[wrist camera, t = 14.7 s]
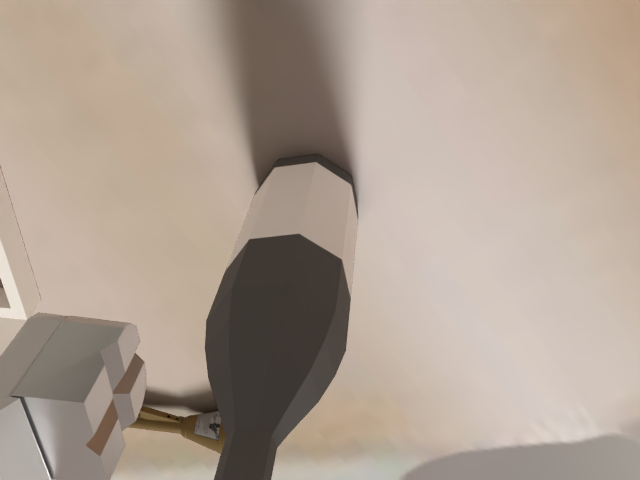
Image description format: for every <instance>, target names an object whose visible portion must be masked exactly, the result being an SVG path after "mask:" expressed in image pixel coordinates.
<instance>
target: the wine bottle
mask: <svg viewBox="0 0 640 480" xmlns="http://www.w3.org/2000/svg"><path fill="white" fill-rule="evenodd" d="M357 226H358V209H357V203H356V198H355V193H354V188H353V182H352V177H351V175H350V174H348V173H347V172H345V171H344V170H342V169H341V168H339V167H338V166H336V165H334V164H333V163H331V162H330V161H328V160H327V159H325V158H324V157H322V156H321V155H319V154H313V155H306V156H298V157H291V158H283V159H279V160H278V161H277V163H276V164H275V165H274V167H273V168H272V170H271V171H270V172H269V174H268V175H267V177H266V178H265V179H264V181H263V182H262V184H261V185H260V186H259V188H258V189H257V191H256V192H255V195H254V197H253V200H252V202H251V205H250V208H249V210H248V213H247V216H246V218H245V221H244V223H243V226H242V229H241V231H240V234H239V237H238V239H237V242H236V244H235V247H234V250H233V252H232V255H231V257H230V260H229V263H228V265H227V268H226V271H225V273H224V276H223V278H222V281H221V284H220V286H219V289H218V292H217V294H216V297H215V299H214V302H213V305H212V307H211V310H210V313H209V315H208V318H207V321H206V339H205V352H206V361H207V370H208V378H209V381H210V385H211V388H212V391H213V394H214V397H215V401H216V404H217V407H218V410H219V414H220V417H221V421H222V425H223V428H224V432H225V436H226V438H225V442H224V445H223V449H222V453H221V456H220V460H219V463H218V467H217V471H216V474H215V478H214V480H271V476H272V471H273V466H274V461H275V455H276V450H277V447H278V446H279V445H280V444H281V443H282V441H283V440H284V439H285V438H286V437H287V435H288V434H289V433H290V432H291V431H292V430H293V429H294V428H295V427H296V425H297V424H298V423H299V422H300V421H301V420H302V419H303V418H304V417H305V416H306V415H307V414H308V413H309V411H310V410H311V409H312V408H313V407H314V406H315V405H316V404H317V403H318V402H319V400H320V399H321V397H322V396H323V394H324V392H325V391H326V389H327V388H328V386H329V384H330V383H331V381H332V380H333V378H334V377H335V375H336V372H337V370H338V368H339V365H340V363H341V360H342V358H343V356H344V353H345V351H346V342H347V332H348V321H349V311H350V300H351V290H352V279H353V269H354V258H355V247H356V237H357Z"/></svg>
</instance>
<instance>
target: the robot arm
mask: <svg viewBox="0 0 640 480" xmlns="http://www.w3.org/2000/svg"><path fill="white" fill-rule="evenodd" d="M139 343H140V338H139V334H138V330H137V326H136V325H134V324H132V323H126V322H118V321H109V320H101V319H93V318H85V317H77V316H63V315H56V314H48V313H40V312H39V313H37V314H35V315H33V316H32V317H30V318H29V319H28V320H27V321H26V323H25V324H24V325H23V327H22V328H21V329H20V331H19V332H18V333H17V335H16V336H15V337H14V339H13V340H12V341H11V343H10V344H9V345H8V347H7V348H6V349H5V351H4V352H3V353H2V355H1V356H0V480H51V479H53V480H110V479H111V476H112V474H113V472H114V470H115V467H116V465H117V463H118V461H119V458H120V456H121V454H122V452H123V449H124V447H125V443H124V439H123V435H122V431H123V430H124V429H126V428H127V427H128V426H130V425H131V424H132V423H134V422H135V421H136V419H137V417H138V414H139V412H140V410H141V407H142V404H143V400H144V395H145V390H146V368H145V363H144V361H143V360H142V359H141V358H140V357H139V356H138V355H137V354H136V353H135V352H136V349H137V347H138V345H139Z"/></svg>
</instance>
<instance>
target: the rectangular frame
mask: <svg viewBox="0 0 640 480" xmlns="http://www.w3.org/2000/svg"><path fill="white" fill-rule="evenodd" d="M0 278H1V281H2V284H3V287H4V288H1V287H0V317H4V318H14V319H24V320H28V318H29V317H30V316H31V314H32V313H33V312H34V310H35V309H36V308H37V306H38V305H39V304H40V302H41V298H40V295H39V291H38V288H37V285H36V282H35V278H34V275H33V272H32V269H31V265H30V262H29V259H28V256H27V252H26V249H25V246H24V243H23V239H22V236H21V233H20V230H19V226H18V223H17V220H16V217H15V213H14V210H13V207H12V204H11V200H10V197H9V194H8V191H7V187H6V184H5V181H4V178H3V174H2V171H1V168H0Z"/></svg>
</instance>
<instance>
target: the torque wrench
mask: <svg viewBox="0 0 640 480" xmlns="http://www.w3.org/2000/svg"><path fill="white" fill-rule="evenodd" d="M183 418H184V417H181V416H179V417H177V416H174V415H171V414H168V413H165V412H161V411H158V410H155V409H152V408H148V407H145V406H142V407H141V410H140V413H139V414H138V417H137V419H136V421H135V422H134V423H132V424H131V425H130V426H128V427H130V428H138V429H146V430H154V431H163V432H171V433H179V434H181V435H182V436H183V437H185V438H186V439H190V440H192V441H194V442H196V443H198V444H201V445H203V446H205V447H207V448H209V449H212V450H214V451H216V452H218V453H220V454H221V453H222V449H223V445H224V442H225V438H226V436H225V432H224V428H223V425H222V421H221V417H220V414H219V411H215V412H209V413H204V414H198V415H190V416H187V417H185V418H184V419H183Z"/></svg>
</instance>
